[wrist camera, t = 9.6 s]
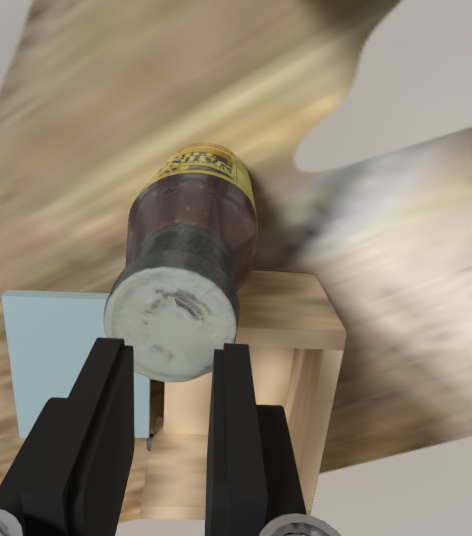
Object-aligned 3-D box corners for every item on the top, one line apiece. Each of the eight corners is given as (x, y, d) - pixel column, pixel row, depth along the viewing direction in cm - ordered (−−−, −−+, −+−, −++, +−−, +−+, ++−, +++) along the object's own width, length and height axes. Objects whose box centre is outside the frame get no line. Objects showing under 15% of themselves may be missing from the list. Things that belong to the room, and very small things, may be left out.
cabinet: (314, 274, 34) (347, 333, 26) (289, 431, 40) (308, 521, 31) (152, 264, 33) (131, 322, 25) (151, 426, 39) (133, 518, 30)
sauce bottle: (231, 126, 30) (257, 182, 11) (260, 210, 32) (322, 372, 13) (143, 160, 30) (28, 265, 12) (177, 240, 32) (127, 434, 14)
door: (152, 290, 33) (150, 300, 31) (150, 422, 37) (148, 437, 35) (11, 285, 31) (1, 295, 30) (27, 422, 36) (19, 438, 34)
